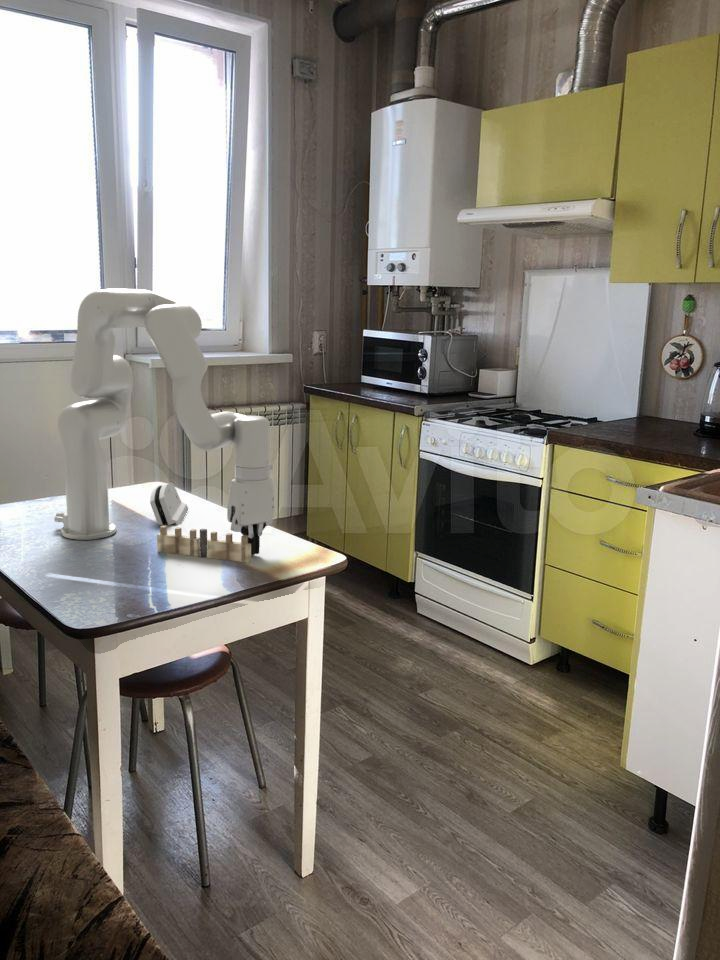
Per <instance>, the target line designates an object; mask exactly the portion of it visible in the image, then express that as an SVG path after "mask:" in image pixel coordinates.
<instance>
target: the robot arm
mask: <svg viewBox="0 0 720 960" xmlns="http://www.w3.org/2000/svg"><path fill="white" fill-rule="evenodd" d="M116 328H117V329H120V328H121V329H122V328H124V329H125V328H128V329H129V328H145V331H146V333H147V336H148V338H149V339H150V341H151V343H152V344H153V347H154V348H155V350H156V352H157V354H158V356H159V358H160V360H161V361H162V363H163V365H164V367H165V369H166V371H167V373H168V375H169V376H170V378H171V381H172V400H173V401H172V402H173V407H174V409H173V410H174V412H175V415H176V418H177V420H178V422H179V424H180V425H181V427H182V430H183V431H184V433H185V434H186V436H187V438H188V439H189V441H190V443H192V444H193V446H195V448H196V449H198V450H200V451H203V452H212V451H213V452H214V451H216V450H219V449H221V448H226V447H230V446H233V445H234V478H233V479H231V481H230V486H229V491H228V496H227V497H228V499H227V513H226V514H227V516H226V517H227V521H228V522H229V523H231V524H230V530H231V532H235V533H240V534H241V536H243V535H248V543H249V544H251V556H255V555H258V554H260V548H261V547H260V546H261V545H260V542H261V541H260V540H261V539H260V537H261V536H262V535H263V531H264V529H265V528H266V527H268V526H270V525H272V524H273V522H274V521H273V518H274V517H275V502H276V501H275V491H274V484H273V480H272V477H270V474H271V473H270V471H273V470H274V469H273V465H272V464H271V463H270V456H271V451H270V449H271V445H270V444H271V442H270V441H271V427H270V426H271V423H270V421H269V419H268V418H267V417H264V416H263V415H246V414H242V413H238V412H235V411H229V410H226V411H225V410H224V411H220V412H216V413H210V410H209V408H208V406H207V405H206V403H205V401H204V398H203V395H202V388H201V387H202V386H201V385H202V384H201V383H202V381H203V380H202V379H203V377H204V375H205V373H206V372H207V369H208V366H209V365H208V361H207V358H206V357H205V355H204V354H203V351H202V350H201V348H200V347H199V344H198V343H197V340H196V339H197V338H198V337H199V336H200V334H201V333H202V328H203V327H202V320H201V317H200V315H199V313H198V312H197V311H196V310H195V309H194V308H193V307H192V306H190V305H188V304H186V303H184V302H181V301H178V300H175V299H172V298H171V297H170V298H169V297H168V296H165V295H162V294H160V293H156V292H155V291H151V290H147V289H142V288H139V289H138V288H104V289H98V290H95V291H92V292H91V293H89V294H88V295H86V296H85V297H84V298H83V300H82V301H81V303H80V304H79V308H78V312H77V329H76V330H77V331H76V338H75V339H76V340H75V345H74V351H73V358H72V365H71V372H70V388H71V389H72V391H73V393H74V394H75V395H76V396H78V397H80V398H83V399H88V400H83V401H80V402H79V401H77V402H75V403H71V404H69V405H67V406H66V407H64V408H63V409H62V410H61V412H59V415H58V418H57V430H58V431H57V432H58V434H59V438H60V442H61V447H62V452H63V453H62V455H63V463H64V465H63V466H64V480H65V483H64V484H65V497H66V498H65V500H66V503H65V504H66V512H61V511H57V512H56V513H55V514H56V515H55V517H54V522H55V523H62V524H63V526H62V528H61V529H60V534H61V536H62V537H64V538H66V539H70V540H78V541H79V540H80V541H81V540H82V541H87V540H97V539H103V538H106V537H110V536H112V535H114V534H115V533H116V531H117V526H116V524H115V523H112V522H110V513H109V512H110V511H109V509H110V508H109V488H108V487H109V484H108V463H107V456H106V453H105V451H104V448H103V446H102V444H101V441H100V440H104V439H107V438H111V437H114V436H116V435H117V436H118V434H120V433H121V432H122V431H123V430H124V428H125V426H126V424H127V421H128V418H129V417H128V416H129V410H130V404H131V399H132V392H133V387H134V374H133V373H134V372H133V369H132V367H131V365H130V363H129V361H127V360H126V358H124V357H123V356H120V355H117V354H115V351H116V350H115V349H116V336H115V332H114V329H116ZM89 399H90V400H89Z"/></svg>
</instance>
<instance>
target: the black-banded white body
mask: <svg viewBox="0 0 720 960" xmlns="http://www.w3.org/2000/svg"><path fill="white" fill-rule="evenodd" d="M149 501H150V502H149V503H150V506H151V510H152V512H153V515H154V517H155V520H156V523H157V525H158V526H159V525H160V526H166V525H167V526H170V525H173V524H175V525H176V526H179V525H182V524H183V522H184V520H185V518H186V517H185V515H186V513H187V511H188V509H189V507H188V505H187V503H185V502H182V500H181V498H180V495H179V493H178V490H177V489H176V485H174V483H171V482H170V483H164V484H163V485H158V486H156V487H155V488H154V489H153V490H152V492H151V495H150V499H149ZM188 512H189V511H188ZM187 514H188V513H187ZM186 516H187V515H186ZM184 517H185V518H184ZM183 519H184V520H183ZM182 521H183V522H182Z"/></svg>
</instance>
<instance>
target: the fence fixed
mask: <svg viewBox="0 0 720 960" xmlns="http://www.w3.org/2000/svg"><path fill="white" fill-rule="evenodd" d="M182 529H183V528H182V527H175V528H174V534H171V533H168V525H160V527H159V532H158V533H157V534H156V541H157V542H156V545H157V552H158V553H159V552H160V553H165V554H166V553H169V554H175V555H183V556H190V557H200V558H204V559H205V558H208V553H207V540H208V529H207V528H201V529H199V536H198V537H197V529H195V528H192V529H190V530H189V535H183V534H182Z"/></svg>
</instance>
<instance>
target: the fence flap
mask: <svg viewBox="0 0 720 960" xmlns="http://www.w3.org/2000/svg"><path fill="white" fill-rule="evenodd" d="M240 538H241V539H240V540H241V541H233V533H229V532H227V533H226V534H225V540H221V539H218V531H211V532H210V538H208V539H207V559H208V558H209V559H216V560H223V561H231V562H238V563H245V564H246V563H248V564H249V563H251V562H252V555H251V544H249V543H248V535H241V536H240Z"/></svg>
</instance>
